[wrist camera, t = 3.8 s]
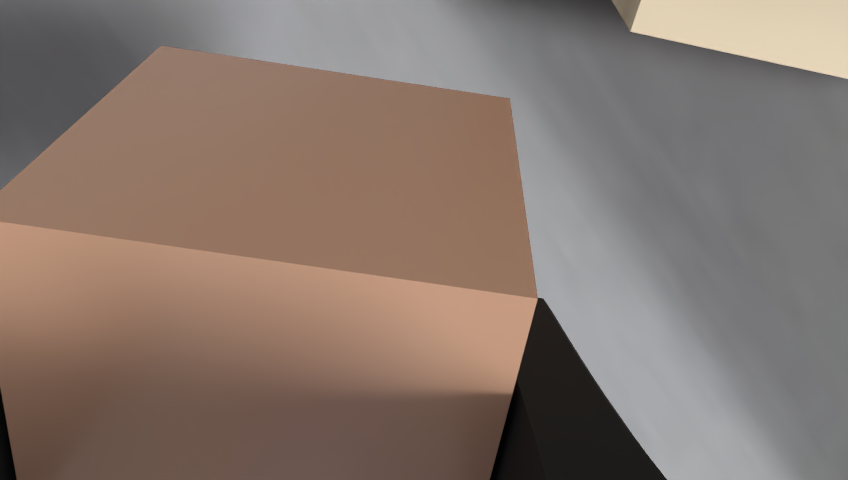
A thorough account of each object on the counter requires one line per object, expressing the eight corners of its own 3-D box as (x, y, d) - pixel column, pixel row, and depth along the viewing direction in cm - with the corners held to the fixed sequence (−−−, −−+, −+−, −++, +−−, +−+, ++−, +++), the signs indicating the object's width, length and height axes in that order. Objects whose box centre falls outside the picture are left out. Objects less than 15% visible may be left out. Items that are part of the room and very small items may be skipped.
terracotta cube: (453, 365, 12) (448, 631, 9) (169, 326, 12) (33, 579, 8) (509, 98, 10) (537, 298, 6) (161, 45, 10) (-30, 216, 6)
